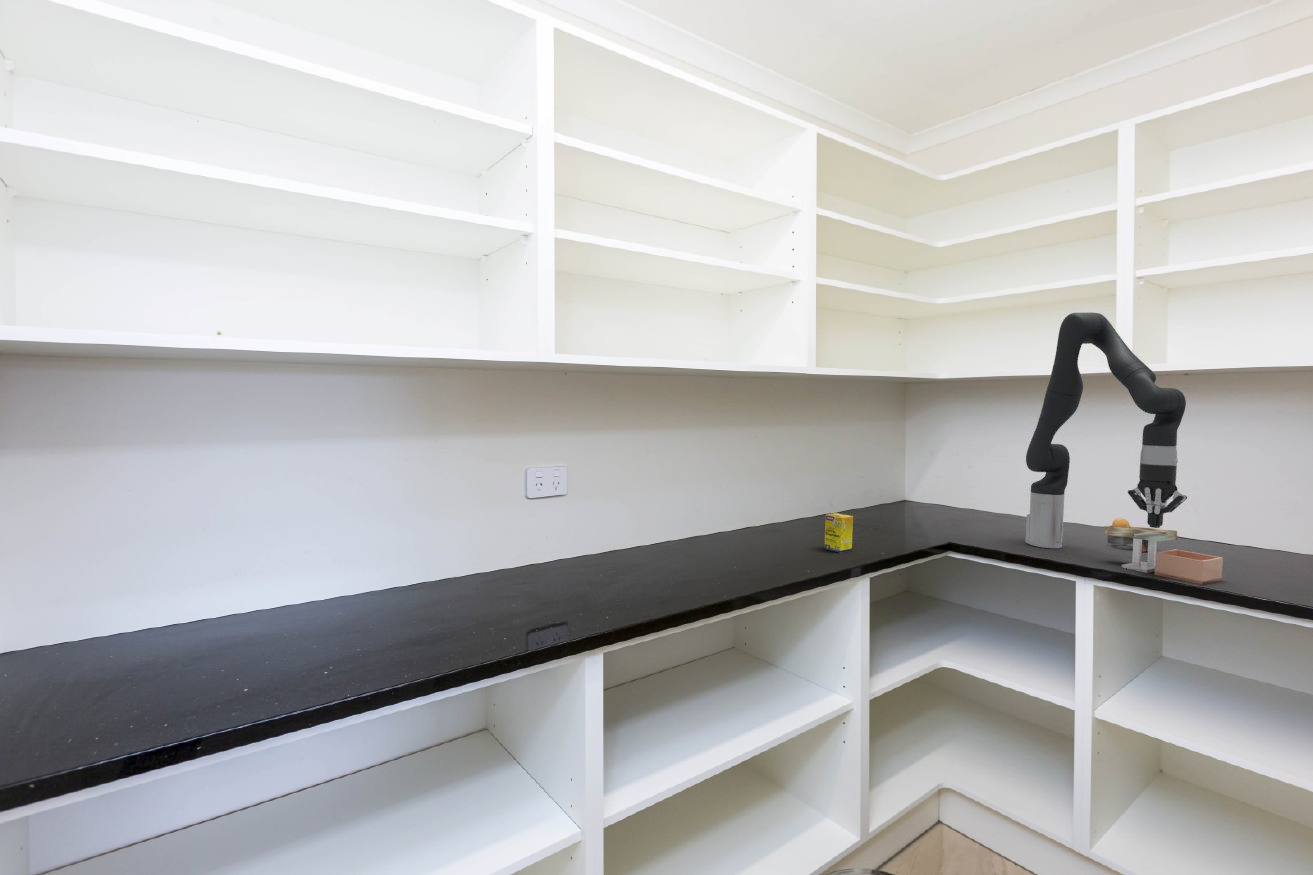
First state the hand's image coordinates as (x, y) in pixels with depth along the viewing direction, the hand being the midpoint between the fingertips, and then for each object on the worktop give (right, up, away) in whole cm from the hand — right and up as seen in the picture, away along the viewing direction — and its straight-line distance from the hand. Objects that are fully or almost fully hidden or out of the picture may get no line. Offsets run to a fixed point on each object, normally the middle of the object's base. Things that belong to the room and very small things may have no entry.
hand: (1154, 527), depth 160 cm
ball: (+1, -1, +13) cm, 13 cm away
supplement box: (-77, -11, +25) cm, 82 cm away
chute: (0, -6, +6) cm, 9 cm away
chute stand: (+4, -13, +8) cm, 15 cm away
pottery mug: (+21, -12, +33) cm, 40 cm away
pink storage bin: (+8, -13, -1) cm, 15 cm away
